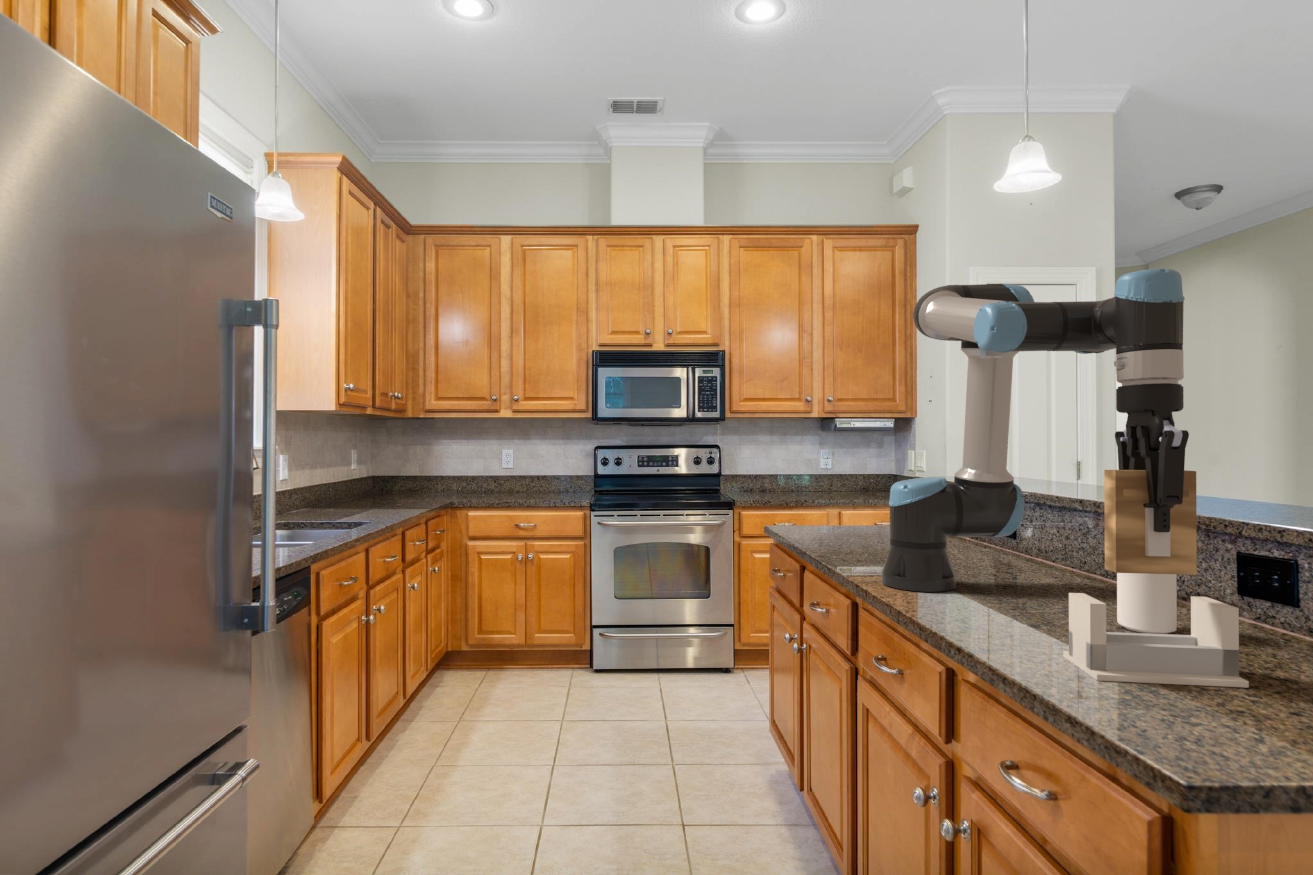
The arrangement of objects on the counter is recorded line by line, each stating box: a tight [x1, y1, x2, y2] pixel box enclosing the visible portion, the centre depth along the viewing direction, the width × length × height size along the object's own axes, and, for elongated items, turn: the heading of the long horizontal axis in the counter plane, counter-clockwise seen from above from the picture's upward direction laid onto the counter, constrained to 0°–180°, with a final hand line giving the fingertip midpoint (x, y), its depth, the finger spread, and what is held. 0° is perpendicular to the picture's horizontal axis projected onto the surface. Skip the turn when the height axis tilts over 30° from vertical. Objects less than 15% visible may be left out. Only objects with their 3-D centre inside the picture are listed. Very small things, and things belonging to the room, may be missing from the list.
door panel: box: [1103, 469, 1198, 576], centre depth 93 cm, size 3×10×14 cm, turn 81°
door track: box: [1062, 592, 1250, 689], centre depth 93 cm, size 10×18×10 cm, turn 81°
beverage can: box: [1116, 573, 1178, 634], centre depth 113 cm, size 8×8×12 cm
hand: (1149, 553), depth 93 cm, fingers closed on door panel, 3 cm apart
